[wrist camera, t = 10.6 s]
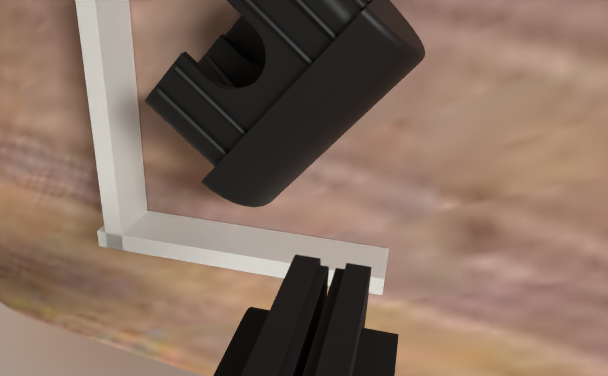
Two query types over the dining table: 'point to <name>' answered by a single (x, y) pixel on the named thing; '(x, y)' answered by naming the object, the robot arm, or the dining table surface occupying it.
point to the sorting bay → (131, 182)
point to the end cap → (284, 88)
